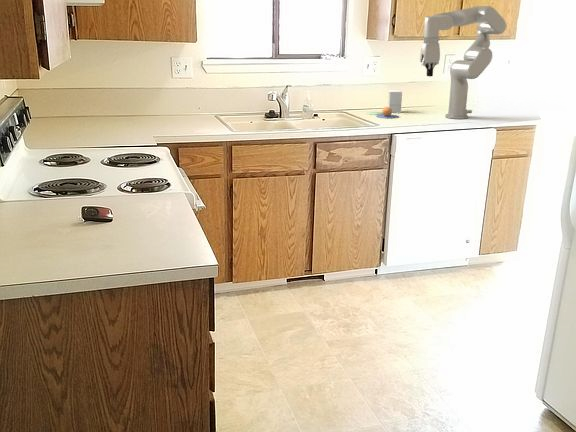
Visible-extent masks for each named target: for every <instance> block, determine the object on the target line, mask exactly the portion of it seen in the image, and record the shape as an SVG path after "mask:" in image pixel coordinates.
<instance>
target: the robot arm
mask: <svg viewBox="0 0 576 432" xmlns="http://www.w3.org/2000/svg"><path fill="white" fill-rule="evenodd" d="M423 23H424V29H423V43H422V44H421V47H420V48H421V49H420V56H419V62H420V63H421V66H424V68H425V69H426V77H429V78H430V77H433V75H434V69H435V67H436V66H437V65H439V63H440V60H441V58H440V57H441V50H440V49H441V48H440V43H439V41H441V39H440V37H439V35H440V34H439V32H440V31H448V30H450V29H452V28H453V27H464V26H469V25H472V24H476V23H477V25H476V26H477V27H476V33H477V34H476V39H475V40H474V42H473V43H472V44H471V45H470V46H469V47H468V49H467V50H466V51H465V52H464V55H463V60H462V59H459V60H458V59H457V60H455V61H453V62H452V63H451V65H450V66H449V67H450V69H449V73H450V90H449V101H448V112H447V113H446V114H445V115H444V116H445V118H448V119H455V120H464V119H469V115H468V114H472V113H473V110H472V109H467V102H468V92H469V91H468V90H469V84H468V80H475V79H477V78H479V76H481V74H482V73H484V71H485V70H486V69H487V68H488V67H489V65H490V63H491V62H492V59H493V51H492V49H490V47H491V41H490V35H501V34H503V33H504V32H505V31H506V29H507V22H506V20H505V19H504V17H503V16H502V15H501V14H500V13H499V12H498V11H497V10H496V9H495V8H494V7H492V6H490V5H477V6H472V7H467V8H462V9H459V10H457V9H456V10H453V11H446V12H440V13H437V14H433V15H431V16H426V17H425V18H424V22H423Z"/></svg>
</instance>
